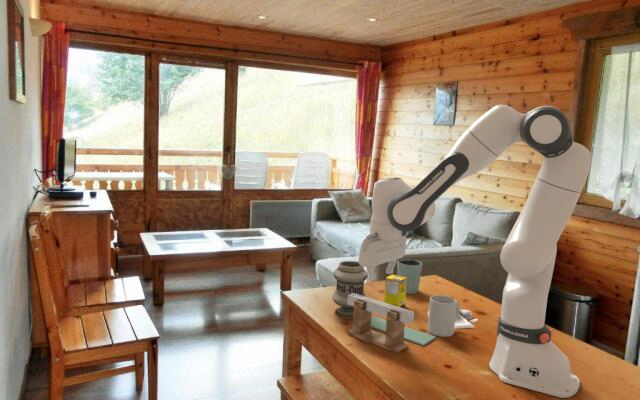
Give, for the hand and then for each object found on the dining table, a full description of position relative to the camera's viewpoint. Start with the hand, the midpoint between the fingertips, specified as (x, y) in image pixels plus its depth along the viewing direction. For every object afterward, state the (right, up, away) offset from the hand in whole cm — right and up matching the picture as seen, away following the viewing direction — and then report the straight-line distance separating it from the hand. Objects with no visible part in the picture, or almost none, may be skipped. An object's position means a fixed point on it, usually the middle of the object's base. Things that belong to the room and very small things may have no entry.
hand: (380, 276), depth 147 cm
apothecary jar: (-8, -17, +25) cm, 31 cm away
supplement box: (+9, -17, +35) cm, 39 cm away
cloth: (+30, -19, +27) cm, 44 cm away
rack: (-1, -20, +3) cm, 20 cm away
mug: (+22, -20, +13) cm, 33 cm away
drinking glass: (+18, -14, +54) cm, 58 cm away
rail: (0, -11, +1) cm, 11 cm away
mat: (+6, -19, +11) cm, 23 cm away
